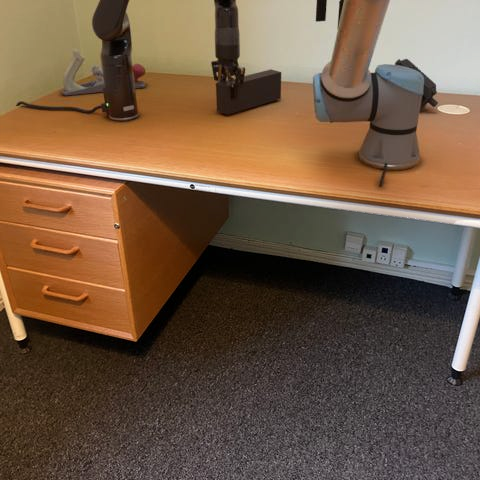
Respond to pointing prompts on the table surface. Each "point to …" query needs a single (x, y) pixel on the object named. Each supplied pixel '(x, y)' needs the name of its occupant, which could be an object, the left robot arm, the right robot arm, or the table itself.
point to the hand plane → (95, 85)
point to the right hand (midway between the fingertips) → (331, 25)
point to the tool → (428, 87)
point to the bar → (249, 92)
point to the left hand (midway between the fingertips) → (228, 97)
